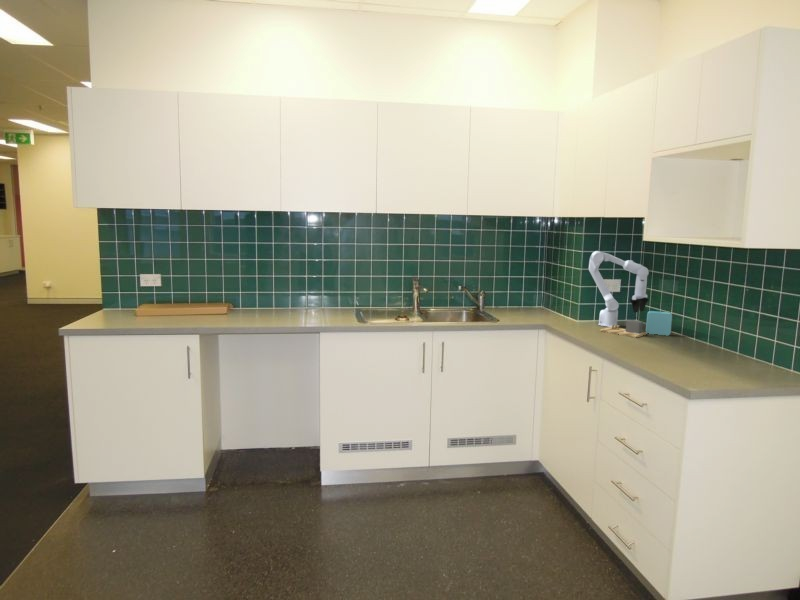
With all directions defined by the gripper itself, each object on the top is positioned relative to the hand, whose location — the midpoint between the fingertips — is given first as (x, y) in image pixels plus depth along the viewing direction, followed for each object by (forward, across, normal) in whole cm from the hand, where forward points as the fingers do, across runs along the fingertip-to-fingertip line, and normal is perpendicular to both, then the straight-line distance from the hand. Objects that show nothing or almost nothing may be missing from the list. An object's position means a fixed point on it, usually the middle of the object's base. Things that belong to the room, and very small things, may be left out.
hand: (638, 311), depth 308 cm
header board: (+9, -21, -2) cm, 23 cm away
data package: (+10, -8, -15) cm, 19 cm away
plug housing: (+8, -20, -7) cm, 23 cm away
